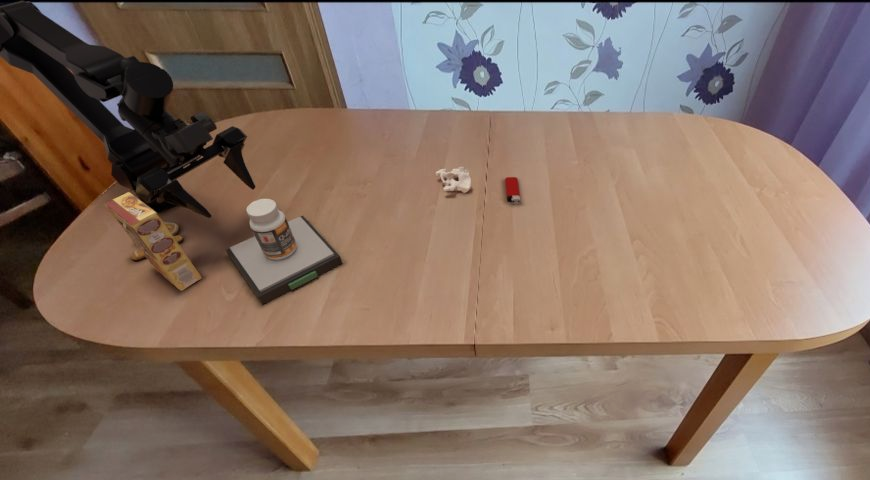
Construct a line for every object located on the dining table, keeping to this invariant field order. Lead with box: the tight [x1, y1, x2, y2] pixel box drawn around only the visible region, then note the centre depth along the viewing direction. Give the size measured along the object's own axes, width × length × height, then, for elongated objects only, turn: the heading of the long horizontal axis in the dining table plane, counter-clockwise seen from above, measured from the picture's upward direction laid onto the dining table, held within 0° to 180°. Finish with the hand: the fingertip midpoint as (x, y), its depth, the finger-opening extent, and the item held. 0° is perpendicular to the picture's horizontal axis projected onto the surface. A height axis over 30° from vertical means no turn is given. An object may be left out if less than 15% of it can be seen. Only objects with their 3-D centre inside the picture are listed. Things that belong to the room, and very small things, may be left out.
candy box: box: [104, 191, 202, 292], centre depth 78 cm, size 9×4×15 cm, turn 54°
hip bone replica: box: [435, 166, 472, 194], centre depth 101 cm, size 8×4×7 cm
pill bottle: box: [245, 198, 297, 260], centre depth 81 cm, size 6×6×10 cm
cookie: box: [129, 222, 183, 261], centre depth 88 cm, size 8×1×10 cm
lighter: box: [504, 176, 521, 205], centre depth 101 cm, size 3×1×8 cm
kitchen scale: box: [225, 215, 343, 305], centre depth 85 cm, size 15×16×3 cm
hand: (233, 202), depth 81 cm, fingers open, 9 cm apart
